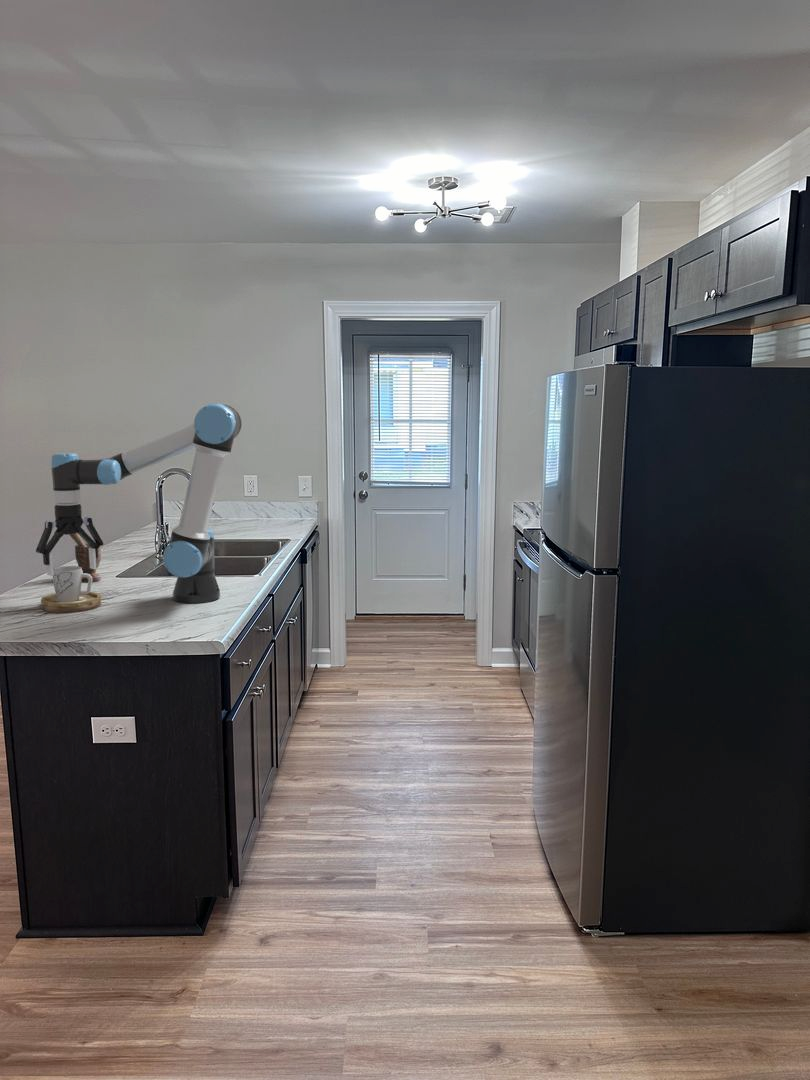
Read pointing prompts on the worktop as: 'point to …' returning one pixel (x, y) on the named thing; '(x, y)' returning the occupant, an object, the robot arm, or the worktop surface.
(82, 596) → the round wooden tray
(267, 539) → the worktop surface
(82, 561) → the mortar and pestle
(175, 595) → the robot arm
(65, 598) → the mug
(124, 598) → the worktop surface
